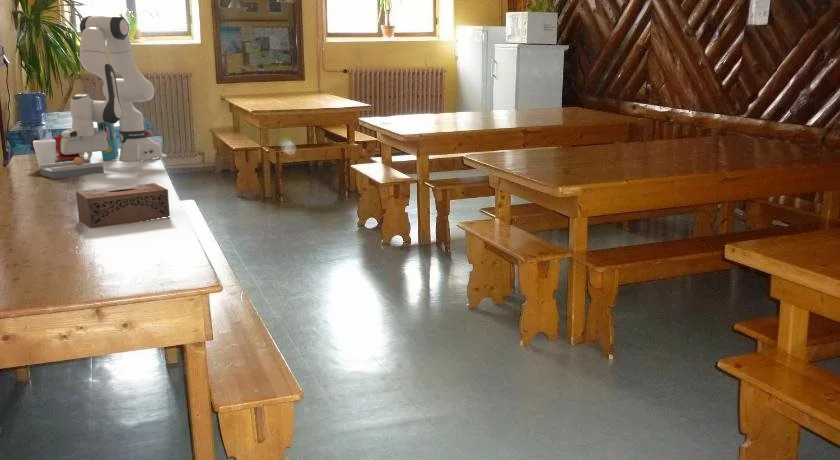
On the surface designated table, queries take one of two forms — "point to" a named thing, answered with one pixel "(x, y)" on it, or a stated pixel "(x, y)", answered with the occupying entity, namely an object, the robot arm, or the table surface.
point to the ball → (78, 161)
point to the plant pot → (61, 155)
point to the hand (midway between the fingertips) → (86, 162)
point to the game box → (109, 141)
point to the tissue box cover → (122, 205)
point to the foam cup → (45, 151)
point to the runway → (70, 169)
